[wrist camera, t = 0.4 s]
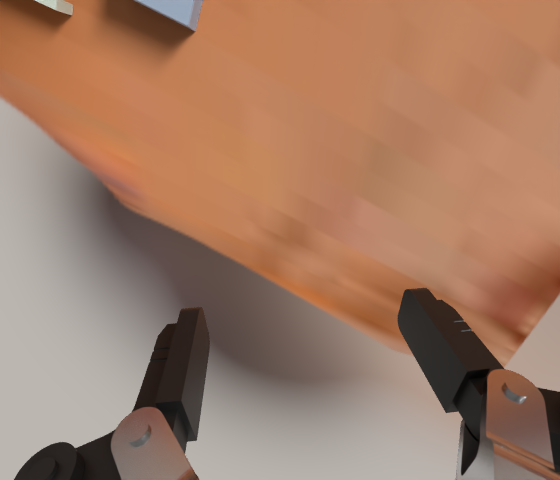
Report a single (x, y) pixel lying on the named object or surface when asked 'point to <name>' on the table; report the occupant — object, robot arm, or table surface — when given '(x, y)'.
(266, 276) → the table surface
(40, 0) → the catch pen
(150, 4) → the pale blue cube
